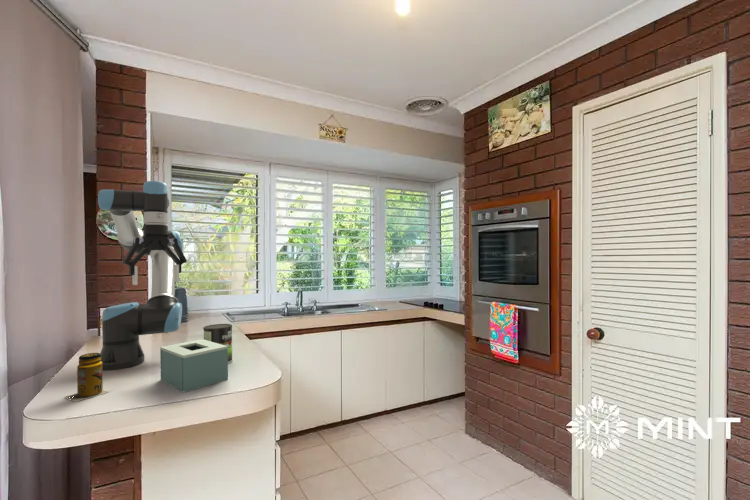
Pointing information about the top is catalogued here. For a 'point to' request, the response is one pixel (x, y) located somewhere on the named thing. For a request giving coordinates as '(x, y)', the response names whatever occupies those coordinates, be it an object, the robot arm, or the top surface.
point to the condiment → (88, 377)
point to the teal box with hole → (194, 364)
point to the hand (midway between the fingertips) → (156, 283)
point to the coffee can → (220, 336)
